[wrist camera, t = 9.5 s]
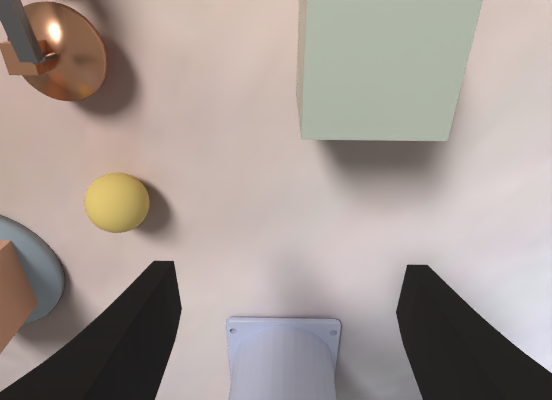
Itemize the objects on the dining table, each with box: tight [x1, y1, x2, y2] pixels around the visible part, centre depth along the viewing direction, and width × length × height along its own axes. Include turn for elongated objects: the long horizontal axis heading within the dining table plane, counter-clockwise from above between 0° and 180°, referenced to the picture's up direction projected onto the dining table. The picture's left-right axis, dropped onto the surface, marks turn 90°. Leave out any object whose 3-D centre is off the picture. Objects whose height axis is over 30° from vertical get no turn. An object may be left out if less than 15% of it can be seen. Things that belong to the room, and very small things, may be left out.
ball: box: [84, 173, 149, 233], centre depth 20 cm, size 3×3×3 cm
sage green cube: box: [296, 0, 483, 141], centre depth 15 cm, size 5×5×6 cm
